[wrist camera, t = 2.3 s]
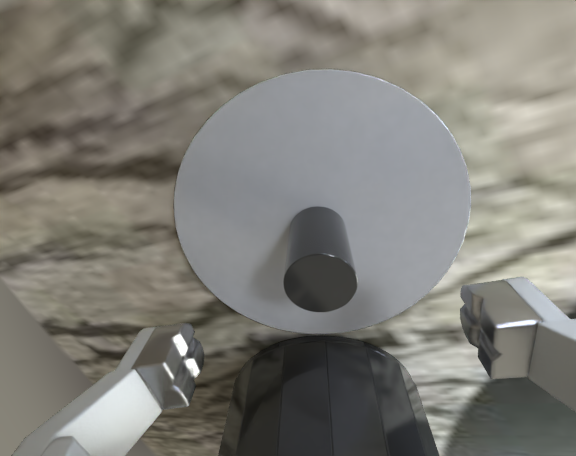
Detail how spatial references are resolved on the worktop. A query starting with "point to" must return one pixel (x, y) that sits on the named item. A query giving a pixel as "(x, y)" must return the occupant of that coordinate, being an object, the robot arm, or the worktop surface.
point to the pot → (325, 403)
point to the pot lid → (322, 201)
